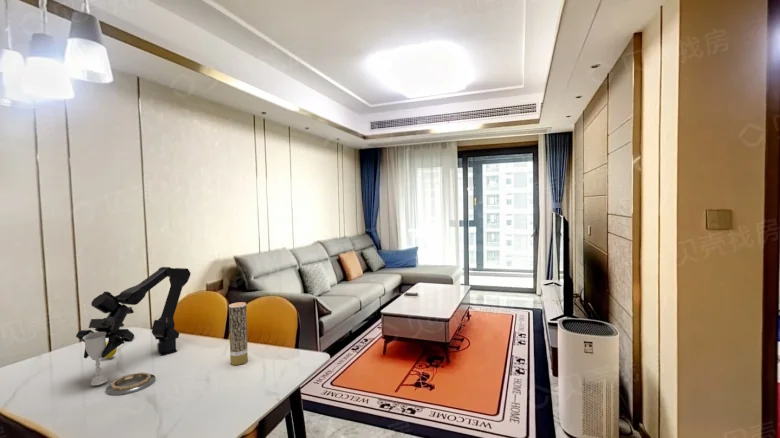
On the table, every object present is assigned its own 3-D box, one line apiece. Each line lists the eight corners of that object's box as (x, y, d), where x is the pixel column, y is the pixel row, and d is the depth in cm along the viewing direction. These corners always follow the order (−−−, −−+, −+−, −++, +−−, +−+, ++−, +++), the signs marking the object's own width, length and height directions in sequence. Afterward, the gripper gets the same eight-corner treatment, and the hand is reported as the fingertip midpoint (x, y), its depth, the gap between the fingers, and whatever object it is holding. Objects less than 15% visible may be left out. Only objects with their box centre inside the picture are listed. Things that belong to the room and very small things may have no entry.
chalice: (84, 383, 131) (79, 337, 129) (105, 374, 137) (101, 330, 135) (92, 388, 127) (87, 341, 126) (114, 379, 133) (110, 333, 132)
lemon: (110, 361, 154) (109, 343, 154) (97, 361, 154) (97, 343, 154) (120, 356, 159) (119, 338, 159) (108, 356, 159) (107, 338, 159)
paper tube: (250, 359, 153) (249, 302, 153) (242, 366, 146) (241, 306, 146) (235, 358, 154) (234, 302, 153) (227, 365, 147) (225, 306, 147)
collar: (150, 372, 142) (150, 367, 142) (159, 384, 131) (159, 379, 131) (102, 385, 131) (102, 380, 131) (109, 400, 121) (108, 394, 121)
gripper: (78, 309, 135) (52, 349, 124) (127, 308, 135) (105, 348, 124) (96, 323, 143) (73, 361, 132) (142, 322, 143) (123, 360, 132)
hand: (93, 357), depth 130 cm, fingers closed on chalice, 6 cm apart
